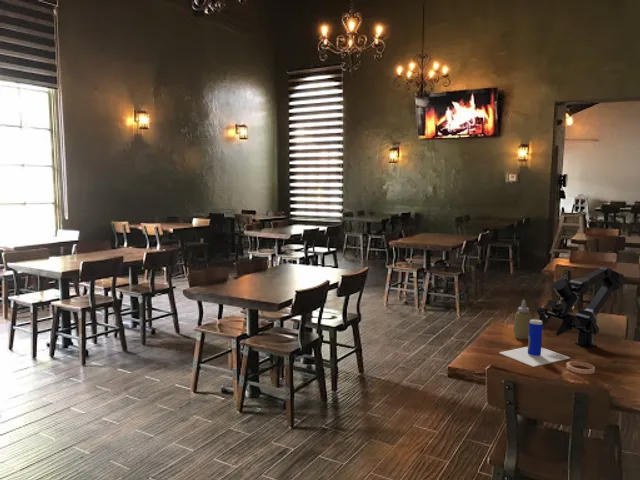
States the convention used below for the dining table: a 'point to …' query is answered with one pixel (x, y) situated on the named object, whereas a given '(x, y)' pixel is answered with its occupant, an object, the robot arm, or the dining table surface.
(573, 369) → the terracotta ring
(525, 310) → the squeeze bottle
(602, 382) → the dining table surface
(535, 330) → the beverage can
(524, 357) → the grey mat
